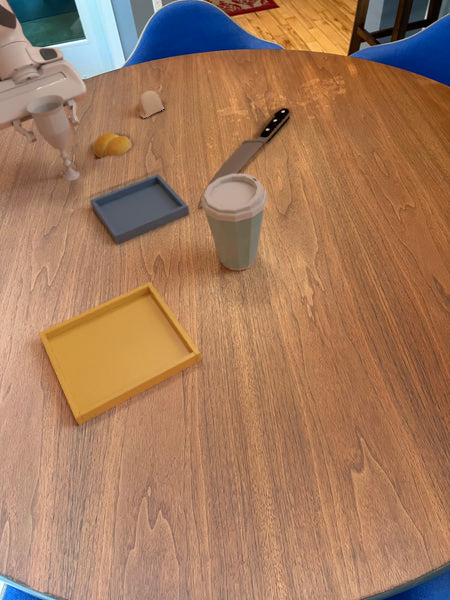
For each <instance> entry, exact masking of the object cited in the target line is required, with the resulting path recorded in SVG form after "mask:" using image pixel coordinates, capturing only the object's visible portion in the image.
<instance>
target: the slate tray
mask: <svg viewBox="0 0 450 600" xmlns="http://www.w3.org/2000/svg"><path fill="white" fill-rule="evenodd" d="M89 201H90V205H91V208H92V209H93V211H94V212H95V214H96V215H97V217H98V218H99V220H100V221H101V223H102V224H103V225H104V227H105V228H106V230H107V231H108V233H109V234H110V236H111V237H112V238H113V240H114V242H115V243H116V244H117V245H120V244H122V243H124V242H126V241H127V242H128V241H129V240H131V239H134V238H136V237H138V236H141V235H143V234H145V233H148V232H150V231H153V230H155V229H158V228H160V227H162V226H164V225H167V224H169V223H171V222H174V221H177V220H178V219H180V218H184V217H186V216H188V215H190V210H189V205H188V204H187V203H186V202H185V201H184V200H183V199H182V197H180V195H179V194H178V193H177V192H176V191H175V190H174V189H173V188H172V186H170V185H169V184H168V183H167V182H166V180H164V178H163V177H162V176H161V175H160V174H159V173H156V174H154V175H152V176H149V177H147V178H143V179H142V180H139V181H137V182H133V183H131V184H129V185H126V186H124V187H120V188H118V189H115V190H113V191H110V192H108V193H105V194H102V195H100V196H97V197H95V198H93V199H90V200H89Z"/></svg>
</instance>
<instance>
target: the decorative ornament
mask: <svg viewBox="0 0 450 600" xmlns="http://www.w3.org/2000/svg"><path fill="white" fill-rule="evenodd" d="M162 88H163V85H162V84H159V85H158V86H157V87H156V89H155V91H154V90H146V91H144V92H143V93H141V95H139V98H138V103H137V104H138V109H139V113H138V114H139V116H140V117H141V118H143V119H144V118H146V117H147V118H149V117H150V116H152V115H154V114H156V113H158V112H161V110H162V111H164V110H163V109H164V108H165V107H164V106H163V103H162V99H161V97H160V96H159V95H160V93H161V91H162ZM147 118H146V119H147Z"/></svg>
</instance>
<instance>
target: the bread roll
mask: <svg viewBox="0 0 450 600" xmlns="http://www.w3.org/2000/svg"><path fill="white" fill-rule="evenodd" d="M131 148H133V145H132V141H131V140H130V138H128V137H127V136H124V135H119V134H118V135H117V134H116V133H113V132H106V133H103V134H101V135H99V136H98V137H97V138H96V140H95V141H94V142H93V144H92V151H93V153H94V155H96V157H98V158H100V159H104V158H107V157H115V156H119V155H122V154H124V153H127V151H129V150H130V149H131Z"/></svg>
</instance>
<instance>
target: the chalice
mask: <svg viewBox="0 0 450 600" xmlns="http://www.w3.org/2000/svg"><path fill="white" fill-rule="evenodd" d="M63 102H64V99H63V98H62V97H61V96H58V95H48V96H43V97H40V98H37V99H35V100H33V101H32V102H30V103H29V104H28V106H27V110H28V111H29V112H30V113H31V114H32V116H33V121H34V123H35V125H36V128H37V131H38V133H39V134H40V136H41V137H42V138H43V139H44V140H45V141H46V142H47V143H48V144H49V145H50V146H51V147H52V148H53V149H55V150H59V151H60V155H59V157H60V158H61V159H62V160H63V162H62V166H63V167H65V169H66V171H65V172H64V173H63V176H62V179H63V180H64V181H67V182H70V181H75V180H77V179H79V177H80V176H81V173H80V171H78V170H75V169H73V168H72V167H71V165H72V161H70V160H69V159H68V157H69V154H68V153H67V152H66V150H65V148H66V147H67V146H68V143H69V141H68V140H69V135H70V122H69V118H68V116H67V113H66V110H65V107H63Z"/></svg>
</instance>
